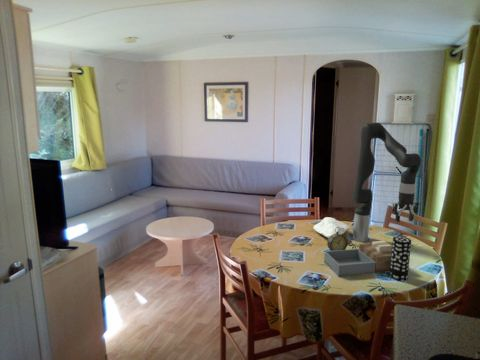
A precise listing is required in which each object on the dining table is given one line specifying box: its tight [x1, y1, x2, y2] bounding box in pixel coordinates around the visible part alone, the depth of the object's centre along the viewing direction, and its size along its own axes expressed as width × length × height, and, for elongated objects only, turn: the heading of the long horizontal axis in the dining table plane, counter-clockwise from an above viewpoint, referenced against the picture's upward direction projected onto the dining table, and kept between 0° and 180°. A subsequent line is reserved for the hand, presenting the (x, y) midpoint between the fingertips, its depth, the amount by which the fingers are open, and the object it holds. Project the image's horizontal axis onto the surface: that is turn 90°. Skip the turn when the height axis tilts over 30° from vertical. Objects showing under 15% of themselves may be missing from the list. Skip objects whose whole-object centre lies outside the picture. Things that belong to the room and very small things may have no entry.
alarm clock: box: [326, 227, 348, 251], centre depth 209 cm, size 11×5×16 cm, turn 105°
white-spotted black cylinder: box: [389, 236, 412, 282], centre depth 180 cm, size 8×8×20 cm
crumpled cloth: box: [313, 216, 351, 239], centre depth 241 cm, size 24×35×9 cm
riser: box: [358, 242, 392, 274], centre depth 195 cm, size 18×14×9 cm
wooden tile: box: [371, 240, 392, 252], centre depth 194 cm, size 7×7×3 cm
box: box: [323, 248, 376, 278], centre depth 192 cm, size 18×20×6 cm
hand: (404, 221), depth 194 cm, fingers open, 7 cm apart
